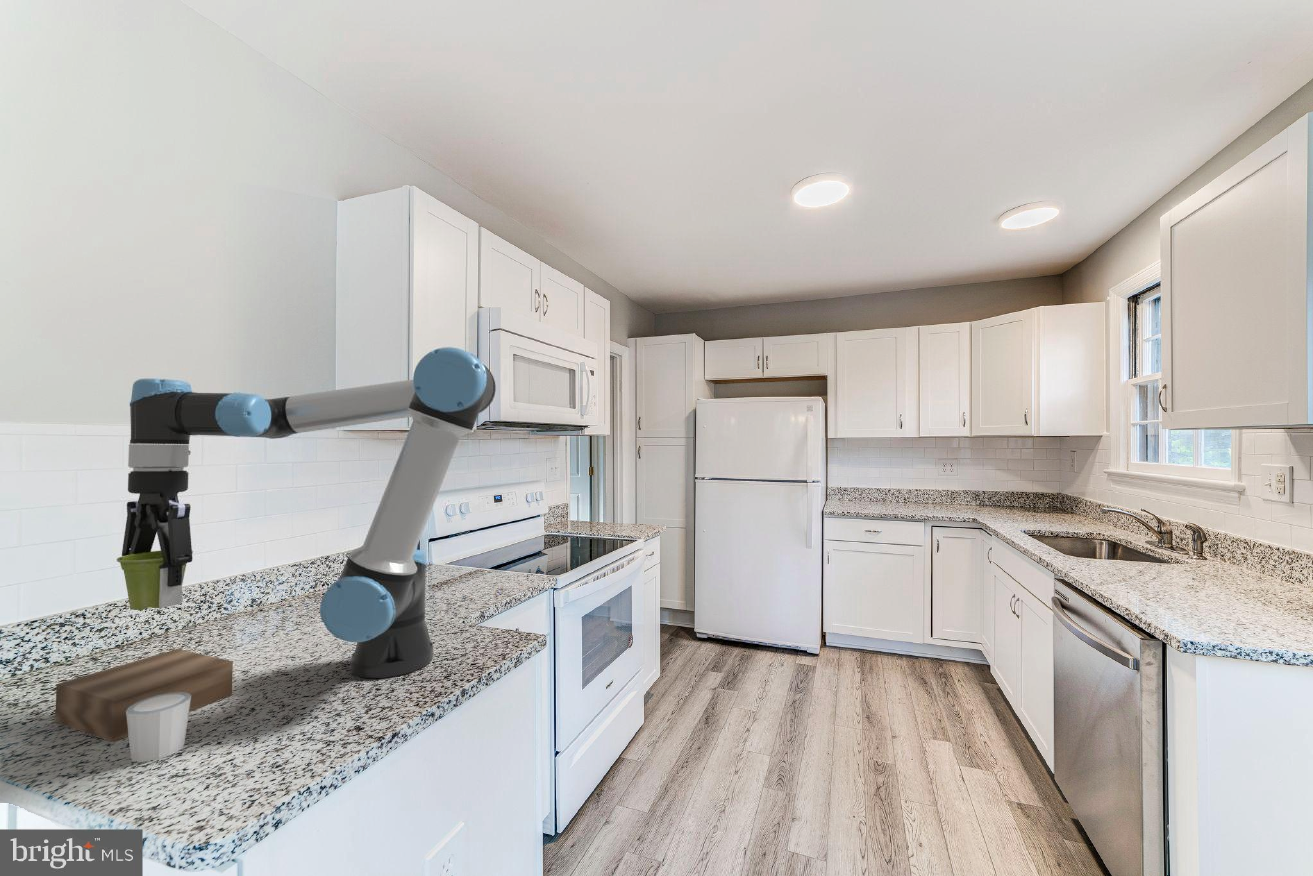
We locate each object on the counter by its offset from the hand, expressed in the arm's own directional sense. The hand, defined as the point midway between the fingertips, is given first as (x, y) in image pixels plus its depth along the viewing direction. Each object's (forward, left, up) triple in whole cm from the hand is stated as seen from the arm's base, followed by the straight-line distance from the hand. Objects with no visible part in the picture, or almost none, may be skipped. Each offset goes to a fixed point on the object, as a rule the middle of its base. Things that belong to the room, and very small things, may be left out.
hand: (154, 602), depth 90 cm
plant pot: (0, 0, -1) cm, 1 cm away
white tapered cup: (-18, +8, -18) cm, 26 cm away
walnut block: (-1, +1, -17) cm, 17 cm away
